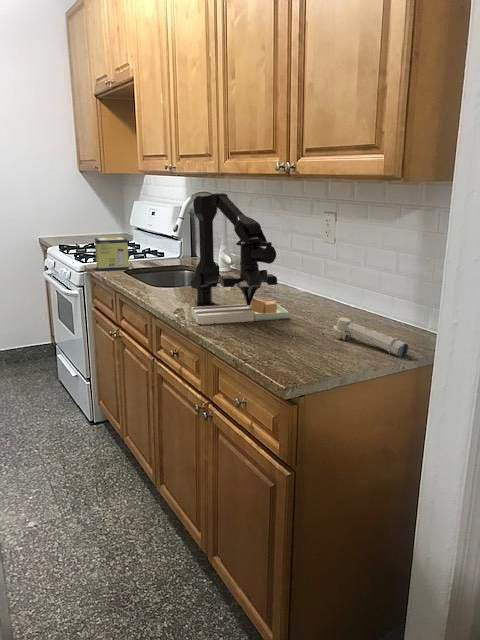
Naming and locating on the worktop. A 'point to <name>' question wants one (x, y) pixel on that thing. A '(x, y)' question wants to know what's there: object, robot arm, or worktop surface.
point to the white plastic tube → (369, 336)
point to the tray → (272, 315)
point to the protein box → (111, 254)
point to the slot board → (222, 314)
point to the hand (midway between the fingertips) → (248, 305)
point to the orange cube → (270, 307)
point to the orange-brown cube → (257, 305)
